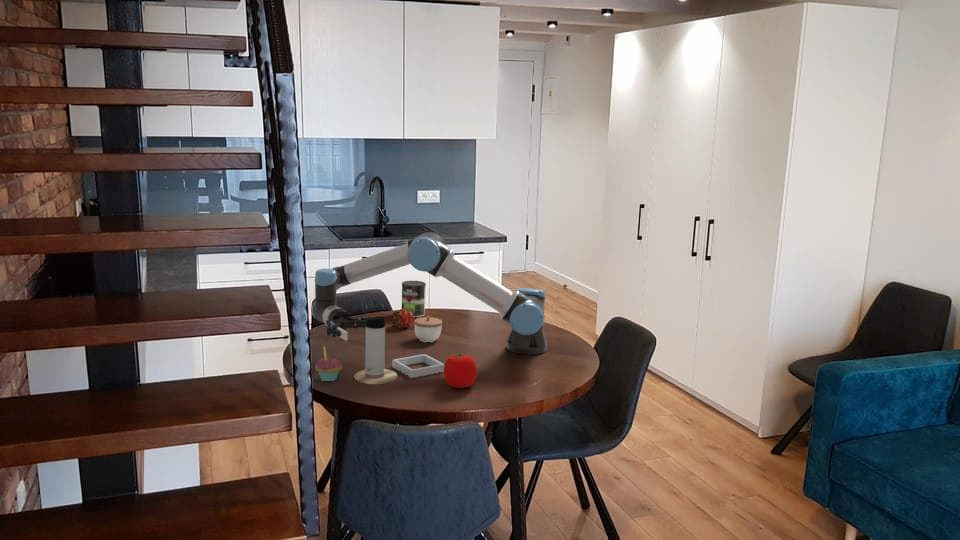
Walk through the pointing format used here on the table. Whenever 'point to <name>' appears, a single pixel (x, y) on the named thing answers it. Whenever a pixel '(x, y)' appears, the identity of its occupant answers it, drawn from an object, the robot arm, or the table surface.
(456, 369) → the tomato
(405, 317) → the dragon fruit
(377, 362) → the travel mug
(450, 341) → the table surface
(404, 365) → the grey square frame
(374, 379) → the mat
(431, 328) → the lidded jar
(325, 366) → the cupcake
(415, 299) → the coffee can
